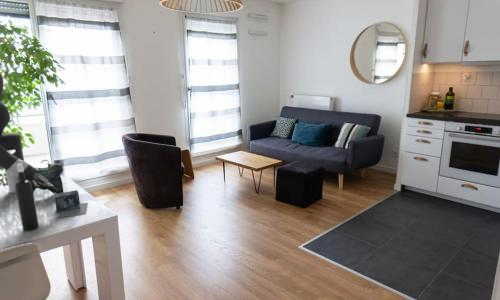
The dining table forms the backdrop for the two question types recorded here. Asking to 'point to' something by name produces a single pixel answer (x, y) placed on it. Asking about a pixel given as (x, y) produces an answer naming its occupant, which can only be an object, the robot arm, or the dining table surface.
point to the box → (67, 201)
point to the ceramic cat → (51, 175)
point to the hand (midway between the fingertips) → (56, 191)
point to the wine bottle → (26, 201)
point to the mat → (74, 211)
